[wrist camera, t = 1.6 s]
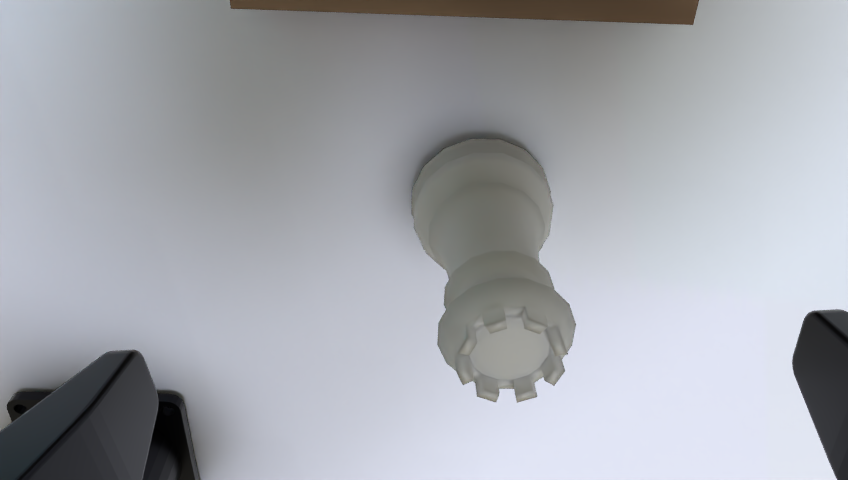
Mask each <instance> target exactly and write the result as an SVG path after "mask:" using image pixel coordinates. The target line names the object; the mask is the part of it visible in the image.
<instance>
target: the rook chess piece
mask: <svg viewBox="0 0 848 480" xmlns="http://www.w3.org/2000/svg"><path fill="white" fill-rule="evenodd" d="M552 212H553V203H552V199H551V196H550V189H549V185H548V182H547V179H546V176H545V173H544V170H543V168H542V167H541V166H540V165H539V164H538V163H537V162H536V161H535V159H534V158H533V157H532V156H531V155H530V154H529V153H528V152H527V151H526V150H525V149H522V148H520V147H517V146H515V145H513V144H510V143H508V142H506V141H503V140H501V139H469V140H466V141H464V142H461V143H458V144H455V145H452V146H450V147H447V148H444V149H443V150H442V151H441V152H440V153H438V154H437V155H436V156H435V157H434V158H433V159H432V160H430V161H429V162H428V163H427V164H426V165H425V166H423V168H422V171H421V173H420V175H419V177H418V179H417V181H416V183H415V185H414V187H413V189H412V216H413V218H414V229H415V231H416V233H417V235H418V237H419V240H420V242H421V244H422V246H423V248H424V250H425V252H426V253H427V254H428V255H429V256H430V257H431V258H432V259H433V260H434V261H435V262H437V263H438V264H439V265H440V266H441V267H442V268H443V269H445V270H446V271H447V274H448V277H449V281H448V283H447V284H446V286H445V295H444V306H445V308H446V311H445V313H444V315H443V316H442V318H441V320H440V321H439V325H438V346H439V349H440V351H441V353H442V355H443V357H444V359H445V361H446V363H447V364H448V365H449V366H451V367H452V368H453V369H454V370H456V372H457V374H458V376H459V378H460V380H461V382H462V384H463V385H464V384H466V383H469V382H471V381H473V382H475V383H476V392H477V397H481V398H484V399H487V400H490V401H493V402H496V401H497V398H498V396H499V389H514V390H515V395H516V400H517V402H521V401H524V400H528V399H531V398H535V397H537V393H536V389H535V385H534V383H535V382H536V381H538V380H539V379H541V378H542V377H544V380H545V381H546V382H548V383H550V384H552V385H555V384H556V382H557V381H558V380H559V378H560V377H561V376H562V374H563V373H564V372H565V369H564V366H563V362H562V359H563V357H564V356H565V355H566V354H568V353H567V352H568V350H569V349H570V348H571V346H572V342H573V337H574V332H575V326H576V323H575V320H574V317H573V314H572V311H571V308H570V305H569V303H567V302H566V301H565V300H564V299H563V298H562V297H561V296H560V295H559V294H558V293H557V292H556V291H555V290H554V286H553V283H552V280H551V277H550V275H549V272H548V271H547V270H546V269H545V268H544V267H543V266H542V265H541V264H540V263H539V251H540V249H541V248H542V246H543V244H544V242H545V240H546V239H547V237H548V236H549V232H550V225H551V219H552Z"/></svg>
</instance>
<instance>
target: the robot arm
mask: <svg viewBox="0 0 848 480" xmlns="http://www.w3.org/2000/svg"><path fill="white" fill-rule="evenodd" d="M792 365H793V371H794V375H795V378H796V380H797V383H798V385H799V388H800V390H801V393H802V395H803V398H804V400H805V403H806V405H807V408H808V410H809V413H810V415H811V418H812V420H813V423H814V425H815V428H816V430H817V433H818V435H819V438H820V440H821V443H822V445H823V448H824V450H825V453H826V455H827V458H828V460H829V462H830V465H831V467H832V469H833V471H834V474H835V476H836V478H837V480H848V312H846V311H844V310H839V309H835V310H817V311H812V312H809V313H808V314H807V315H806V317H805V318H804V321H803V324H802V327H801V331H800V334H799V337H798V341H797V344H796V348H795V351H794V354H793V361H792ZM23 405H24V406H23ZM167 406H169V407H171V408H168V407H167ZM7 410H8V413H9V415H10V418H11V420H12V423H11V424H9V425H8V426H7V427H5V428H4V429H3V430H1V431H0V480H199V476H198V471H197V466H196V461H195V456H194V451H193V446H192V441H191V436H190V431H189V426H188V421H187V416H186V411H185V406H184V403H183V401H182V399H181V398H179V397H178V396H176V395H172V394H157V390H156V388H155V385H154V383H153V380H152V377H151V375H150V372H149V370H148V367H147V365H146V362H145V359H144V357H143V355H142V354H141V353H140V352H139V351H136V350H121V351H110V352H107V353H105V354H104V355H102V356H101V357H99V358H98V359H97V360H95V361H94V362H93V363H91V364H90V365H89V366H87V367H86V368H85V369H83V370H82V371H81V372H79V373H78V374H77V375H75V376H74V377H73V378H71V379H70V380H69V381H67V382H66V383H64V384H63V385H62V386H60V387H59V388H58V389H56V390H55V391H54V392H18V393H16V394H14V395H13V396H12V398H11V399H10V401H9V402H8V404H7Z"/></svg>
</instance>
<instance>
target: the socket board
mask: <svg viewBox="0 0 848 480" xmlns="http://www.w3.org/2000/svg"><path fill="white" fill-rule="evenodd" d="M698 2H699V0H230V5H231V9H260V10H288V11H317V12H345V13H374V14H402V15H430V16H459V17H487V18H516V19H544V20H573V21H601V22H630V23H658V24H686V25H693V23H694V19H695V15H696V10H697V6H698Z"/></svg>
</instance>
